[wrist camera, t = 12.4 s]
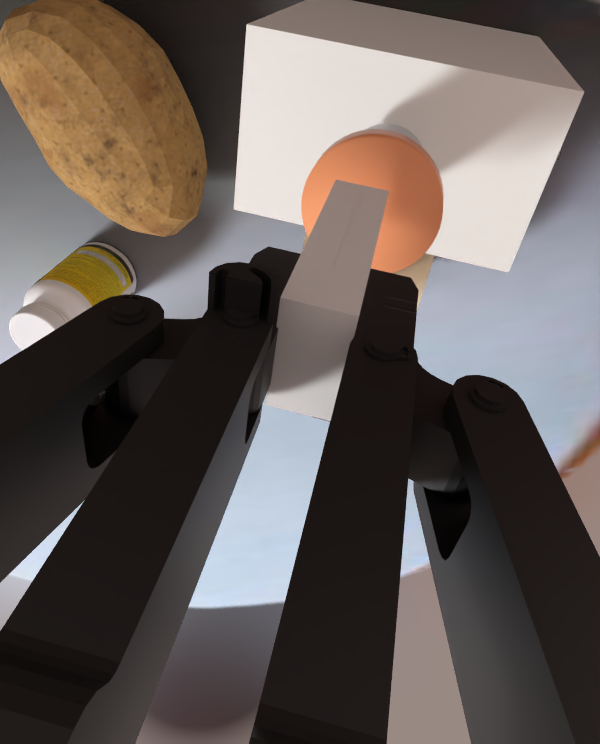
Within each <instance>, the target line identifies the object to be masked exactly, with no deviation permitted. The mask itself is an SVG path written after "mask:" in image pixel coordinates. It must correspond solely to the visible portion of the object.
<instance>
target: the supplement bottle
mask: <svg viewBox="0 0 600 744" xmlns="http://www.w3.org/2000/svg"><path fill="white" fill-rule="evenodd" d="M135 289H136V275H135V271H134V269H133V267H132V265H131V263H130V262H129V260H128V259H127V258H126V257H125V256H124V255H123V254H122V253H121V252H120V251H119V250H117V249H116V248H114V247H112V246H110V245H107V244H104V243H98V242H92V243H87V244H84V245H82V246H81V247H79V248H78V249H77V250H75V251H74V252H73V253H72V254H71V255H69V256H68V257H67V258H65V259H64V260H63V261H62V262H61V263H59V264H58V265H57V266H56V267H55V268H53V269H52V270H51V271H50V272H48V273H47V274H46V275H45V276H43V277H42V278H41V279H40V280H38V281H37V282H36V283H35V284H34V285H33V286H32V287H31V288H30V289H29V290H28V291H27V293H26V295H25V298H24V304H23V306H24V307H22V308H21V309H20V310H19V311H18V312H17V313H16V314H15V315H14V316H13V317H12V318H11V320H10V323H9V331H10V334H11V337H12V339H13V340H14V342H15V343H16V344H17V346H18V347H19V348H20V349H21V350H24V349H26V348H27V347H29V346H30V345H32V344H33V343H35V342H37V341H38V340H40V339H41V338H43V337H45V336H46V335H48V334H49V333H51V332H52V331H54V330H56V329H57V328H59V327H60V326H62V325H64V324H65V323H67V322H68V321H70V320H72V319H73V318H75V317H76V316H78V315H79V314H81V313H83V312H84V311H86V310H87V309H89V308H91V307H92V306H94V305H95V304H97V303H98V302H100V301H102V300H105V299H107V298H109V297H112V296H118V295H125V294H131V295H133V293H134V291H135Z"/></svg>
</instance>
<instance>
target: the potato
mask: <svg viewBox="0 0 600 744" xmlns="http://www.w3.org/2000/svg"><path fill="white" fill-rule="evenodd" d="M0 78H1V81H2V83H3V85H4V87H5V88H6V90H7V92H8V94H9V96H10V98H11V99H12V101H13V103H14V105H15V107H16V109H17V110H18V112H19V114H20V115H21V117H22V119H23V120H24V122H25V124H26V125H27V127H28V129H29V130H30V132H31V134H32V135H33V137H34V139H35V140H36V142H37V144H38V146H39V148H40V150H41V152H42V154H43V156H44V157H45V159H46V161H47V163H48V165H49V167H50V168H51V169H52V170H53V171H54V172H55V173H56V175H57V176H58V177H59V178H60V179H61V180H62V181H63V182H64V183H65V185H66V186H67V187H69V188H70V189H71V190H73V191H74V192H75V193H77V194H78V195H79V196H81V197H82V198H83V199H85V200H86V201H88V202H89V203H90V204H91V205H93V206H94V207H95V208H96V209H98V210H99V211H100V212H102V213H103V214H104V215H105V216H107V217H108V218H109V219H111V220H113V221H114V222H116V223H118V224H120V225H122V226H124V227H126V228H127V229H129V230H132V231H136V232H140V233H146V234H151V235H157V236H162V237H166V236H170V235H174V234H177V233H178V232H179V231H180V230H181V229H182V228H184V227H185V226H186V225H187V224H188V223H189V222H190V221H192V220H193V219H194V218H195V217H196V216H197V214H198V211H199V207H200V204H201V201H202V196H203V190H204V185H205V180H206V174H207V169H208V168H207V161H206V154H205V147H204V140H203V136H202V133H201V130H200V127H199V124H198V122H197V119H196V116H195V113H194V110H193V108H192V106H191V104H190V101H189V99H188V97H187V95H186V93H185V91H184V88H183V86H182V84H181V82H180V80H179V78H178V76H177V74H176V72H175V71H174V69H173V67H172V65H171V63H170V61H169V60H168V58H167V56H166V54H165V52H164V50H163V49H162V48H161V47H160V46H159V45H158V44H157V43H156V42H155V41H154V40H153V39H152V38H151V37H150V36H149V35H148V33H147V32H146V31H145V30H144V29H143V28H142V27H141V26H140V25H139V24H137V23H136V22H134V21H133V20H131V19H130V18H128V17H127V16H125V15H124V14H122V13H120V12H119V11H117V10H116V9H114V8H113V7H111V6H109V5H107V4H105V3H102V2H100V1H98V0H39V1H36V2H33V3H31V4H28V5H26V6H23V7H20V8H18V9H15V10H13V11H12V12H11V14H10V15H9V16H8V18H7V19H6V21H5V23H4V24H3V26H2V28H1V30H0Z"/></svg>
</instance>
